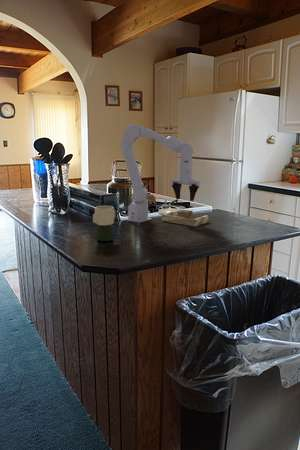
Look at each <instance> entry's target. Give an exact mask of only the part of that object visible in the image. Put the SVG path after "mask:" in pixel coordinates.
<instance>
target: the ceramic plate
mask: <svg viewBox="0 0 300 450" xmlns="http://www.w3.org/2000/svg"><path fill="white" fill-rule="evenodd" d="M180 210H183V208H172V207H171V208H161V209H159V210H158V214H159V213H160V214H159V216H162V214H165V213H169V212H173V211H180ZM177 216H178V215H177Z"/></svg>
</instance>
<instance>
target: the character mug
mask: <svg viewBox="0 0 300 450" xmlns="http://www.w3.org/2000/svg"><path fill="white" fill-rule="evenodd" d="M115 219H116V210H115V208H114V206H112V205H97V206H95V207H94V214H92V221H93V223H95V224H96V225H98V226H97V231H96V241H101V242H108V241H112V240H114V236H113V235H114V234H113V233H114V232H113V228H112V225H113V224H114V223H115Z"/></svg>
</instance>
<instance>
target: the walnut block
mask: <svg viewBox="0 0 300 450" xmlns="http://www.w3.org/2000/svg"><path fill="white" fill-rule="evenodd" d="M178 217H184V218H190V219H193V210H189V209H182V210H180V211H178Z"/></svg>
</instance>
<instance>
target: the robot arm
mask: <svg viewBox="0 0 300 450" xmlns="http://www.w3.org/2000/svg"><path fill="white" fill-rule="evenodd" d="M144 137H145V138H146V137H147V138H150V139H152V140H154V141H157V142H159V143H160V144H163V146H164V148H165V149H167V150H169V151H171V152H174V153H176V154H179V155H180V158H179V166H178V169H179V171H178V174H179V175H178V177H179V178H171V180H170V183H171V188H172V189H173V191H174V194H175V199H176V200H180V199H181V190H182V185H187V186H188V189H189V201H190V202H193V201H194V199H195V197H196V194H197V192H198V190H199V188H200V186H201V181H199V180H195V179H194V180H193V154H194V149H193V147H192V145H190V144H189V143H186V142H185V141H184V140H180V139H179V138H178V139H177V138H176V136H174V135H169V136H164V135H162V134H160V133H158V132H156V131H155V130H152V129H150V128H148V127H145V126H141V125H138V124H134V123H131V124H129V125H127V126H126V127H125V129H124V131H123V135H122V138H121V142H120V149H121V152H122V156H123V159H124V161H125V165H126V168H127V172H128V174H129V177H130V182H131V188H132V198H133V199H132V203H130V204H129V205H128V207H127V212H128V213H127V215H128V216H127V219H126V221H129V222H133V223H134V222H135V223H144V222H147V221H151V220H152V217H151V218H150V217H149V205H148V204H149V200H147V199H146V196H147V195H149V191H148V189H147V188H146V187H145V185H144V182H143V180H142V177H141V174H140V170H139V167H138V164H137V161H136V157H135V153H134V150H133V148H132V147H133V145H134V144H135V142H136V140H138V139H139V138H144Z"/></svg>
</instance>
